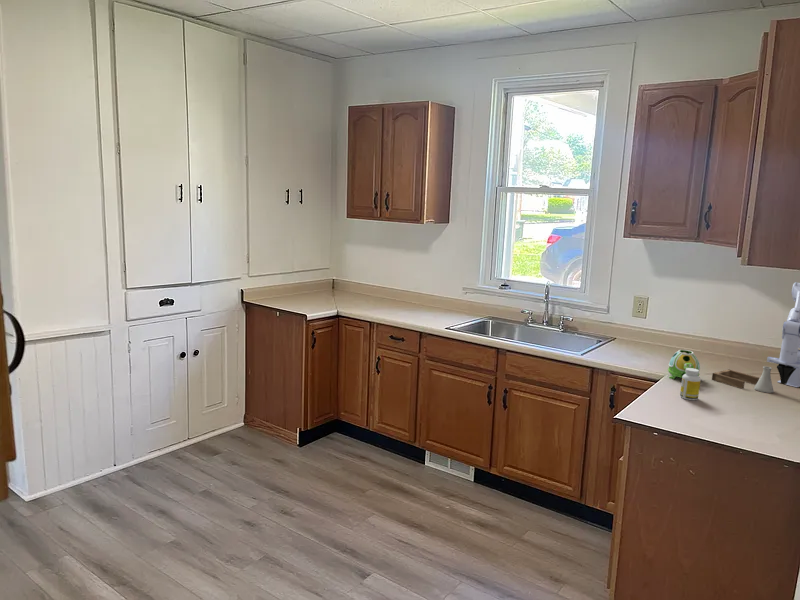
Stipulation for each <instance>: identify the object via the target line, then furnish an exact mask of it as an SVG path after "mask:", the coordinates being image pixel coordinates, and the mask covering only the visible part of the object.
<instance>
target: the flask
mask: <svg viewBox="0 0 800 600" xmlns="http://www.w3.org/2000/svg"><path fill="white" fill-rule="evenodd" d="M762 369H763V370H762V373H761V375H760V377H759V381H758V382H757V384H756V385H755V384H754V387H753V389H754V390H755V391H757V392H762V393H768V394H772V393H774V392H775V390H774V386H773V382H772V378H771V377H772V376H771V372H772V371H771V370H773V368H772V367H771V366H766V365H764V366H762Z"/></svg>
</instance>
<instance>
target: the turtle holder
mask: <svg viewBox="0 0 800 600" xmlns="http://www.w3.org/2000/svg"><path fill="white" fill-rule="evenodd" d="M700 366H701V365H700V361H699V359H698V358H697V356H696V355H695V353H694V352H693V351H692V350H688V349H678V351H676V352H675V353H674V354H673V355H672V356H671V358H670V360H669V363H668V369H667V371H668V373H669V374H670V375H669V377H668V378H669V379H672V380H675V378H681V379H682V376H683V375H684V374H686V372H685V371H686V368H694V369H697V370H699V371H701V367H700ZM699 375H700V373H699V374H698V376H699ZM699 377H700V376H699Z"/></svg>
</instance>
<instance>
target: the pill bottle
mask: <svg viewBox="0 0 800 600" xmlns="http://www.w3.org/2000/svg"><path fill="white" fill-rule="evenodd" d="M685 372H686V374H684V375H683V376H682V378H681V384H680V393H679V396H680V398H681V399H684V400H687V401H697V400H699V395H700V388H701V377H700V376H698V374H699V375H700V370H697V369H694V368H686V371H685Z"/></svg>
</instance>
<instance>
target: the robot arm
mask: <svg viewBox="0 0 800 600" xmlns="http://www.w3.org/2000/svg"><path fill="white" fill-rule="evenodd" d="M791 297H792V300H793V302H795V304H794V307H793V308H791V309H790V310H789V312H788V316H787V318H786V321H784V322H783V325H782V327H781V332H782V334H781V339H782V341H781V345H780V353H779V357H774V356H767V358H766V363H767V362H768V363H773V364H777V365H776V368H777V371H778V374H779V377H780V380H777V381H776V382H777V383H779V384H783V385H786V386H790V387H794V388H799V387H800V282H797V281H795V282H794V283H792V288H791Z"/></svg>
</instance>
